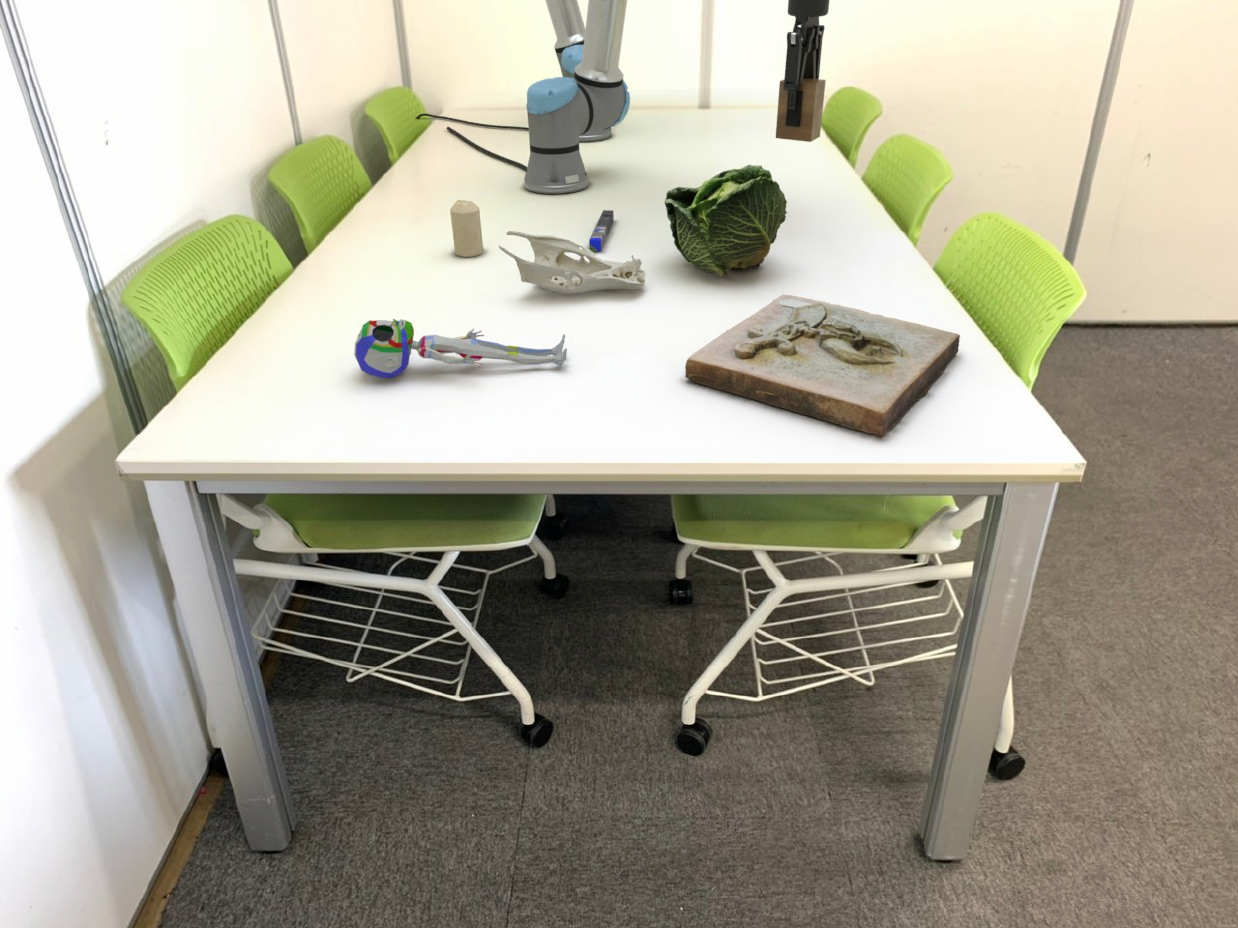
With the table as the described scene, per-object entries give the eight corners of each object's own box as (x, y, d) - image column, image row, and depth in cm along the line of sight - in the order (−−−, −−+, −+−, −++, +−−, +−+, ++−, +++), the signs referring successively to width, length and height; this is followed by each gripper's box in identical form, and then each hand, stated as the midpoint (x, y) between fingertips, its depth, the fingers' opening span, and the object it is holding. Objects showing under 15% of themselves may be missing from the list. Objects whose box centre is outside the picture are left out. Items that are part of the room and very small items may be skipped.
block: (810, 142, 176) (816, 84, 171) (775, 138, 180) (779, 81, 174) (820, 136, 180) (825, 79, 174) (785, 133, 183) (789, 77, 178)
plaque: (892, 390, 109) (684, 332, 124) (883, 441, 113) (682, 379, 127) (971, 312, 130) (784, 271, 145) (961, 357, 134) (780, 312, 148)
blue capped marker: (613, 210, 190) (600, 241, 173) (613, 220, 191) (600, 251, 174) (603, 210, 190) (589, 240, 173) (603, 220, 191) (589, 251, 174)
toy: (569, 347, 126) (349, 329, 122) (563, 400, 131) (350, 385, 126) (565, 318, 135) (359, 301, 130) (559, 369, 139) (360, 354, 134)
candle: (488, 249, 176) (483, 198, 171) (475, 258, 172) (470, 206, 167) (463, 246, 178) (457, 196, 173) (450, 255, 174) (443, 204, 168)
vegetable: (694, 294, 173) (643, 202, 166) (775, 239, 175) (728, 145, 167) (734, 307, 155) (678, 205, 147) (824, 245, 156) (773, 141, 149)
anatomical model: (512, 224, 162) (649, 224, 158) (517, 273, 167) (650, 274, 163) (490, 252, 149) (637, 253, 146) (496, 304, 154) (639, 306, 151)
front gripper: (811, -4, 158) (799, 134, 170) (845, -12, 171) (832, 116, 183) (771, -5, 161) (762, 130, 173) (808, -13, 174) (797, 113, 187)
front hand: (798, 123), depth 178 cm, fingers closed on block, 5 cm apart
